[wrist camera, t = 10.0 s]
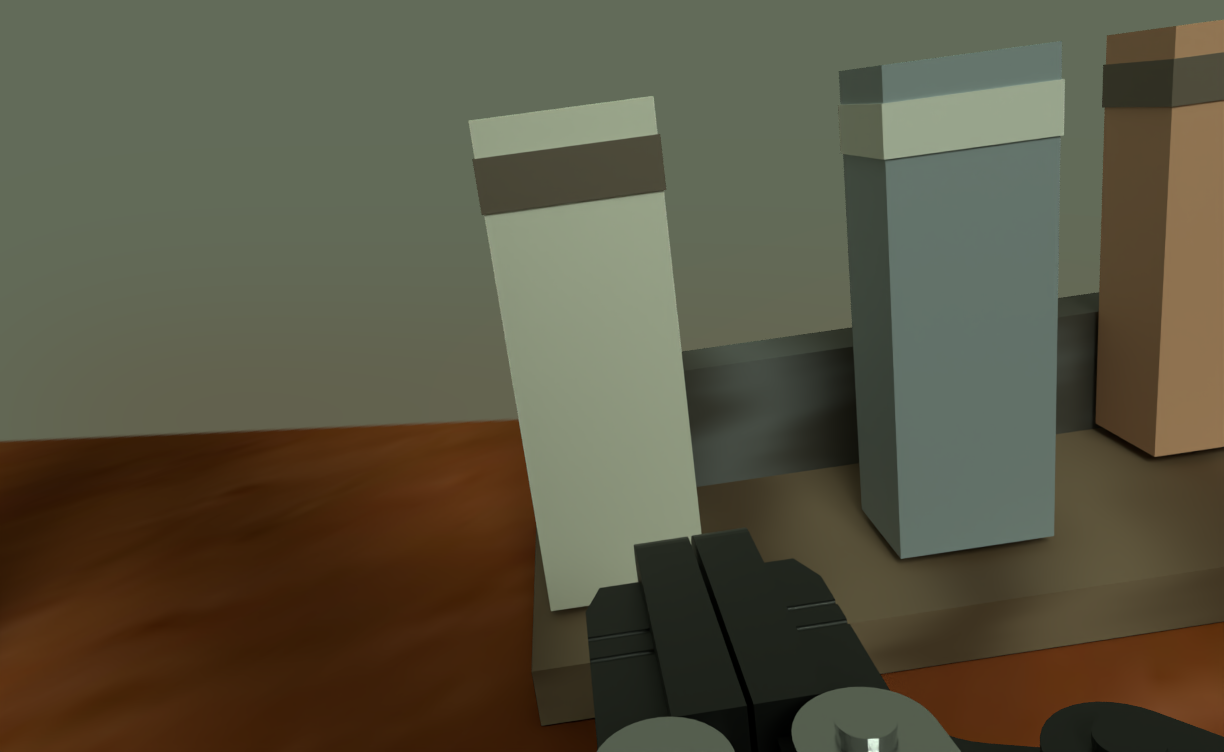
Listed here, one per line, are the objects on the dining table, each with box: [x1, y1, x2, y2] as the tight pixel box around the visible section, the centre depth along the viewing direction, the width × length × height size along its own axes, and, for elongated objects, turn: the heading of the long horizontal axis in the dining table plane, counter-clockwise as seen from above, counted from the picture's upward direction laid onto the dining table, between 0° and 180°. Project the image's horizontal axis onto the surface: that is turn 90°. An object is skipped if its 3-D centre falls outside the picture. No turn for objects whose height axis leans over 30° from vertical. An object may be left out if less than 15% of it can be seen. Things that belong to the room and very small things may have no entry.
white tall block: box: [469, 96, 701, 611], centre depth 22 cm, size 4×3×12 cm
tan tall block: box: [1096, 20, 1224, 457], centre depth 26 cm, size 4×3×12 cm
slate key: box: [838, 41, 1065, 559], centre depth 23 cm, size 4×3×12 cm
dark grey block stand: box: [532, 293, 1224, 726], centre depth 26 cm, size 23×11×6 cm, turn 94°
